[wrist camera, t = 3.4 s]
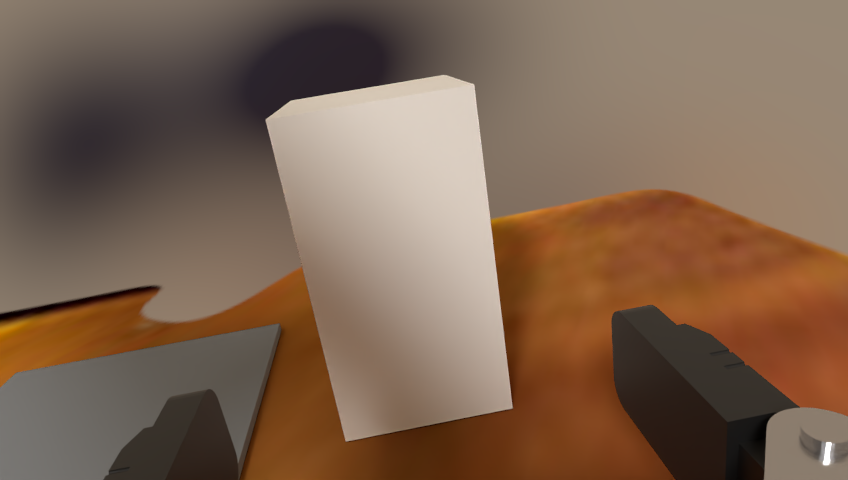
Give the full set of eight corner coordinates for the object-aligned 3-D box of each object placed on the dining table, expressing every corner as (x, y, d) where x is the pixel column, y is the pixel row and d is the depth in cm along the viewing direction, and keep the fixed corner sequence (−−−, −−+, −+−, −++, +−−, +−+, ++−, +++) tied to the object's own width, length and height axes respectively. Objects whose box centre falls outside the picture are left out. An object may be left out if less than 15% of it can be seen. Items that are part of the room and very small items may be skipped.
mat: (-257, 646, 16) (-265, 636, 16) (18, 379, 29) (16, 372, 29) (219, 548, 17) (215, 538, 17) (281, 329, 30) (279, 323, 30)
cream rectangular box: (512, 408, 21) (474, 84, 17) (345, 441, 21) (265, 119, 17) (478, 328, 27) (444, 74, 23) (349, 353, 27) (291, 100, 23)
